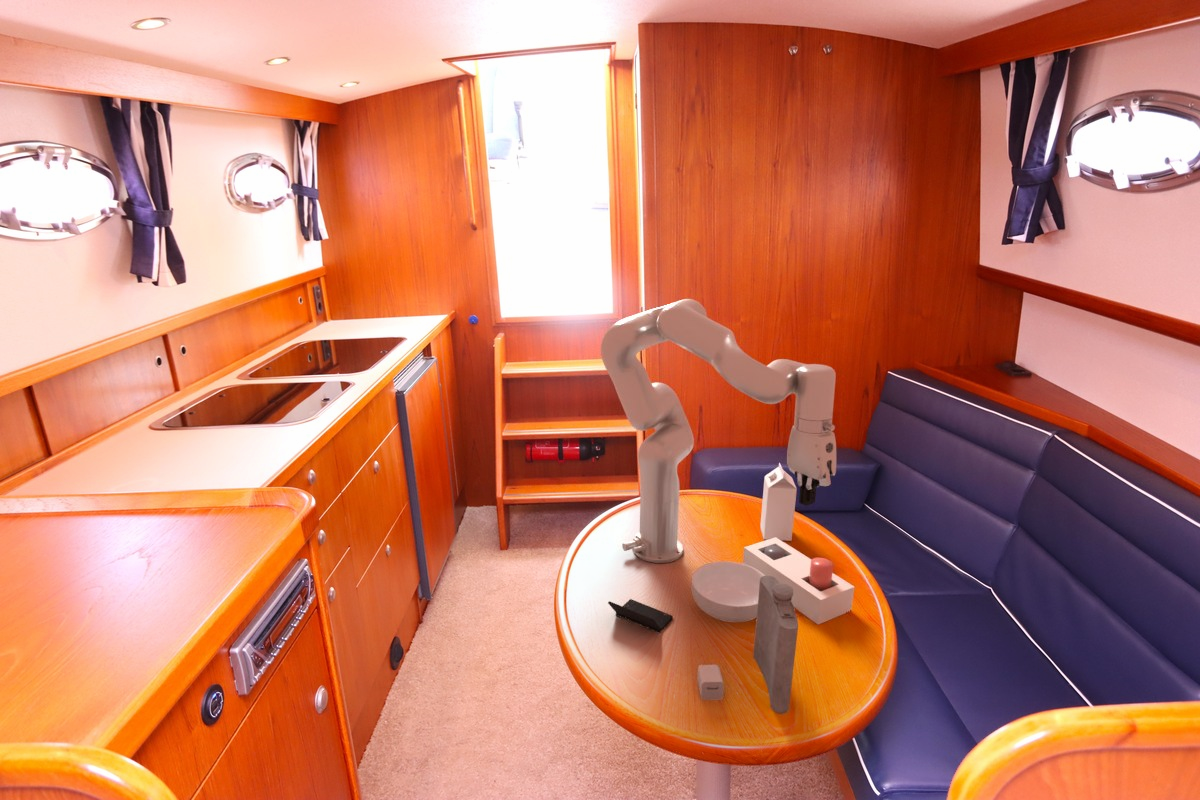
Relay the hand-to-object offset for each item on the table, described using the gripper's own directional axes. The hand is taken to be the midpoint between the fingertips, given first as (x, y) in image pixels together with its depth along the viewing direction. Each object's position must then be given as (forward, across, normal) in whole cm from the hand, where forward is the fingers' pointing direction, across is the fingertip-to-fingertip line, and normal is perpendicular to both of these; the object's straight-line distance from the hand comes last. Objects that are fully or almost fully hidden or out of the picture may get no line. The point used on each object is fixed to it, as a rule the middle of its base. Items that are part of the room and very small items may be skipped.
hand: (807, 502), depth 143 cm
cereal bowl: (+22, +3, +19) cm, 29 cm away
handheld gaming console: (+22, +9, +38) cm, 44 cm away
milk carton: (+22, +22, -14) cm, 34 cm away
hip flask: (+22, -18, +26) cm, 39 cm away
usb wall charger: (+22, -13, +37) cm, 45 cm away
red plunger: (+17, -6, +1) cm, 18 cm away
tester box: (+22, +1, +1) cm, 22 cm away
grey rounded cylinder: (+21, +8, +1) cm, 22 cm away
